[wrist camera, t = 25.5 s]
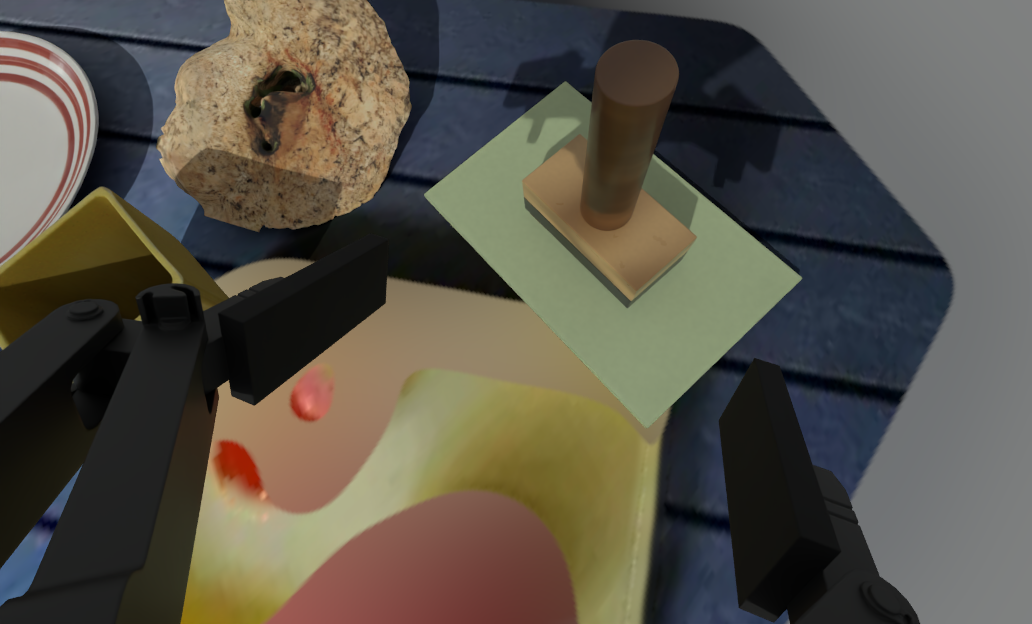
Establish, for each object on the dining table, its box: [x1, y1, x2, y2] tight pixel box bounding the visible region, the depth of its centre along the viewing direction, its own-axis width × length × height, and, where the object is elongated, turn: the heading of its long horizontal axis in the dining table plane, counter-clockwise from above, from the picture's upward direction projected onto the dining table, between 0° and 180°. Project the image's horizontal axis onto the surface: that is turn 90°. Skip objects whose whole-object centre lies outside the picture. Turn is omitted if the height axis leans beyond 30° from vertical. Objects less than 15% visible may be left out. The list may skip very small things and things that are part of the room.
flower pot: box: [0, 187, 229, 383], centre depth 28 cm, size 9×9×9 cm
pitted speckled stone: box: [156, 0, 412, 232], centre depth 34 cm, size 18×14×8 cm
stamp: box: [522, 40, 697, 308], centre depth 25 cm, size 10×5×14 cm, turn 41°
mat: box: [424, 81, 802, 428], centre depth 32 cm, size 22×14×1 cm, turn 42°
